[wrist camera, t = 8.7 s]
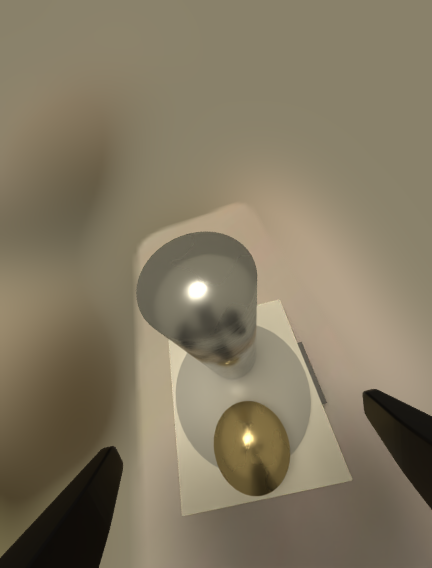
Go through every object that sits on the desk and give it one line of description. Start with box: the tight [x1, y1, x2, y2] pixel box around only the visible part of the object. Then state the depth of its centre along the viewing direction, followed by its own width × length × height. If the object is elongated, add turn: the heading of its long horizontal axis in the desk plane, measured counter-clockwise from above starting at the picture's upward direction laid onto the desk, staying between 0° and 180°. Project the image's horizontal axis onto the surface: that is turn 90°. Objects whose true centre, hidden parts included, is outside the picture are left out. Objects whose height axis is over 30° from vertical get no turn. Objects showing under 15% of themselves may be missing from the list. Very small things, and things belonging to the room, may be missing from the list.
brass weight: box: [214, 401, 290, 496], centre depth 14 cm, size 5×5×2 cm
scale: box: [169, 299, 353, 516], centre depth 18 cm, size 14×13×3 cm
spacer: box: [136, 232, 257, 379], centre depth 13 cm, size 4×4×13 cm
